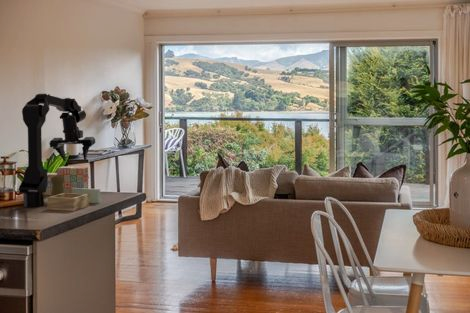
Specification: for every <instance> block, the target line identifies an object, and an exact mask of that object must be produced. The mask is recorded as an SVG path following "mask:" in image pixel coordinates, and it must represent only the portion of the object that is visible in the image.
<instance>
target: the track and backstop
mask: <svg viewBox="0 0 470 313" xmlns="http://www.w3.org/2000/svg"><path fill="white" fill-rule="evenodd" d="M71 190H72V193H75V194H89V204H91V203H92V204H100V203H101V189H100V188H89V187H88V188H71Z"/></svg>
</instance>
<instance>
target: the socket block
mask: <svg viewBox="0 0 470 313" xmlns="http://www.w3.org/2000/svg"><path fill="white" fill-rule="evenodd" d="M46 198H47V199H46V202H47V203H46V204H47V206H46V207H47V210H54V211H55V210H56V211H77V210H80V209H83V208H86V207H89V206H90V203H89V194H75V193H62V194H58V195H54V196H51V195H50V196H47V197H46Z"/></svg>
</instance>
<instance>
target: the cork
mask: <svg viewBox="0 0 470 313" xmlns="http://www.w3.org/2000/svg"><path fill="white" fill-rule="evenodd" d="M51 183H52V184H53V185H52V195H50V196H54V195H58V194H62V193H64V187H63V183H64V177H63V176H53V177H52V178H51Z"/></svg>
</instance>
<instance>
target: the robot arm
mask: <svg viewBox="0 0 470 313" xmlns="http://www.w3.org/2000/svg"><path fill="white" fill-rule="evenodd" d="M50 107H55V109H56V110H58V111H59V112H61V114H60V116H59V119H61V121H62V127H63V130H62V133H63V134H64V139H63V137H53V138H52V139H51V140H50V141H49V148H53V150H55V151H56V152H57V153H58V155H59V156H60V157H61V158H62V161H63V162H66V161H67V159H66V158H67V157H66V153H65V145H81V146H82V147H81V148H82V157H83V160H84V161H87V158H88V154H89V150H90V148H91V147H92V146H94V145H95V144H96V138H95V137H94V136H85V137H84V131H83V130H81V129H80V128H79V126H78V123H80V122H82V121H84V120H85V119H86V118H87V113H86V111H85V110H84V109H83V108H82V106H81V105H79V103H78V102H77V101H76V99H75V98H74V97H60V96H59V97H58V96H55V95H52V94H49V93H37V94H36V95H35V96H34V97H33V98H32V99H30V100H28V101H27V102H26V103H25V105H24V106H23V107H22V110H21V113H22V120H23V123H24V124H25V126H26V128H27V156H28V157H27V160H28V163H27V164H28V165H27V167H26V168H25V171H24V173H23V179H22V180H21V183H20V185H19V186H18V192H19V193H20V194H23V195H22V197H23V207H24V208H27V209H35V208H40V207H44V206H45V196H44V195H43V194H42V193H44V192H46V188H47V182H48V177H47V173H49V172H48V169H47V168H45V167H44V166H43V155H42V154H43V149H42V146H43V144H42V141H43V140H42V128H43V126H44V124H45V122H46V118H47V114H48V113H49V111H50ZM81 138H82V139H81Z"/></svg>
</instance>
